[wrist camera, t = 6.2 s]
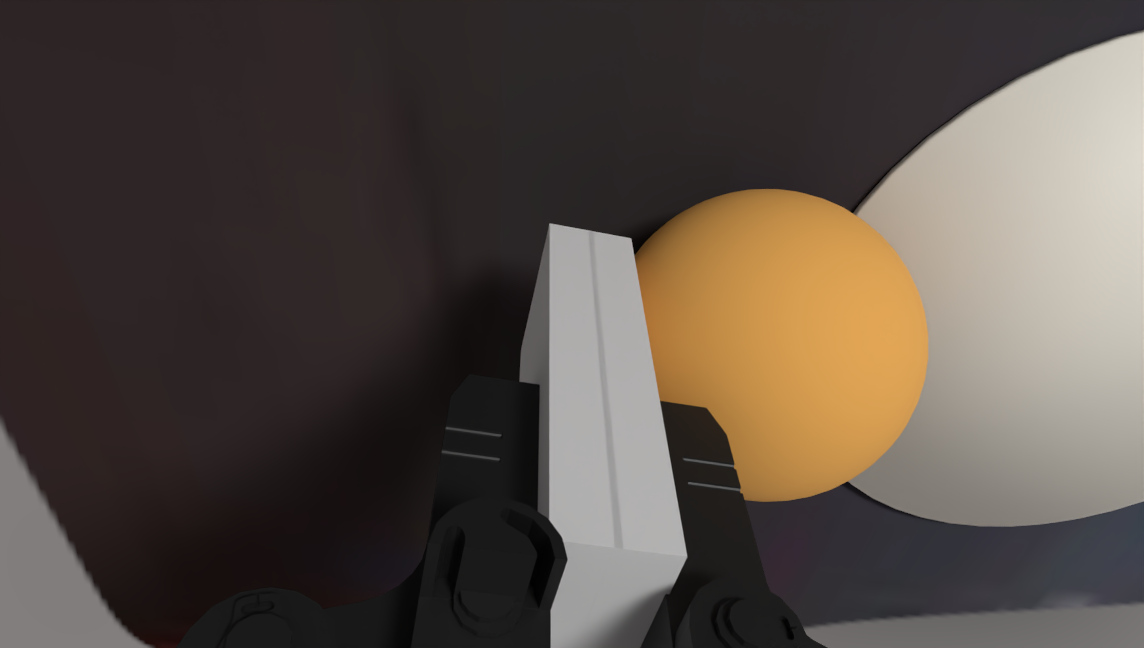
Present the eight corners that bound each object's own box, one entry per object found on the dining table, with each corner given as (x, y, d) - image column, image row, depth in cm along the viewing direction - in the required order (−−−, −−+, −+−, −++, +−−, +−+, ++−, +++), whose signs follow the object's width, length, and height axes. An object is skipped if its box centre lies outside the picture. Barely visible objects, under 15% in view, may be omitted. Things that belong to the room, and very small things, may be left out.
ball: (768, 116, 15) (1042, 249, 13) (693, 332, 19) (898, 475, 16) (573, 168, 12) (895, 369, 9) (523, 423, 15) (748, 627, 12)
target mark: (1619, 103, 14) (1632, 106, 14) (1160, 549, 21) (1164, 555, 21) (973, -63, 12) (978, -60, 12) (716, 482, 20) (717, 488, 20)
